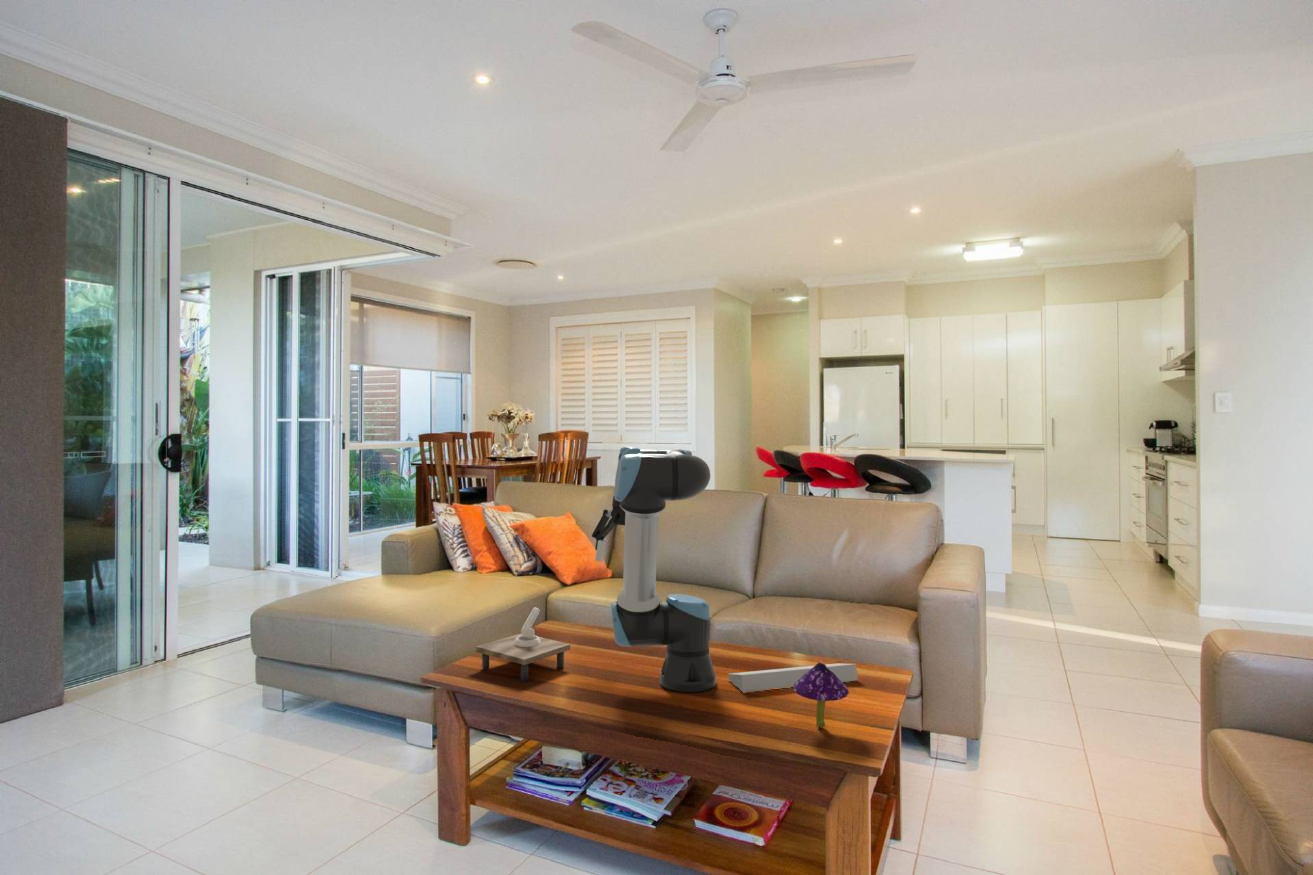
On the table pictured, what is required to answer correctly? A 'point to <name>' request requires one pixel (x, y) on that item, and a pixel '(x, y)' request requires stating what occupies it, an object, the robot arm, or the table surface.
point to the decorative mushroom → (820, 688)
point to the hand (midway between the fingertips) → (615, 563)
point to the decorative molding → (785, 677)
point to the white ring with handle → (528, 632)
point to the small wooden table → (522, 652)
